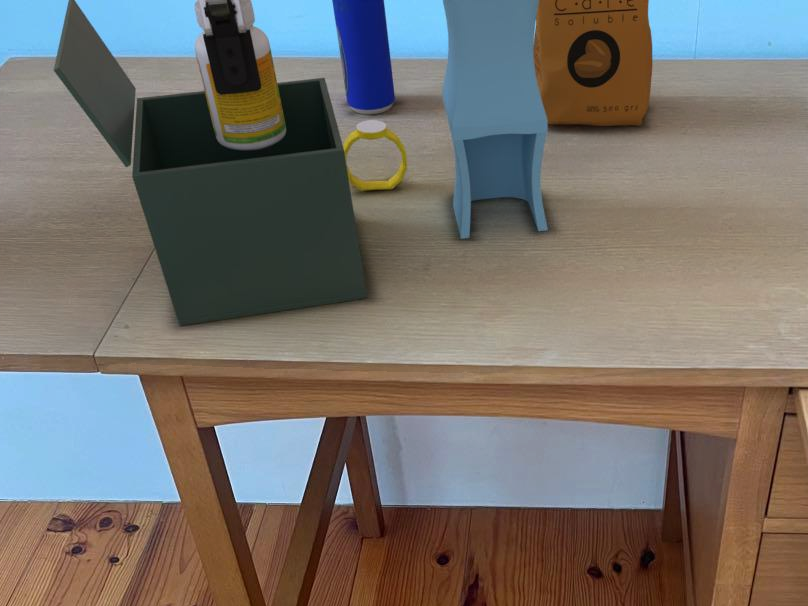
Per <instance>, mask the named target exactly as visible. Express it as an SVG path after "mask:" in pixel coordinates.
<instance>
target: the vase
mask: <svg viewBox="0 0 808 606" xmlns="http://www.w3.org/2000/svg"><path fill="white" fill-rule="evenodd" d="M538 3H539V0H442V5H443V9H444V14H445V20H446V28H447V44H448V47H447V48H448V50H447V59H446V60H447V62H446V68H445V73H444V80H443V84H442V89H441V91H442V102H443V107H444V110H445V113H446V117H447V121H448V125H449V130H450V134H451V135H450V136H451V140H452V145H453V153H454V154H453V155H454V160H455V161H454V165H455V168H454V169H455V171H454V172H455V175H454V176H455V177H454V191H453V200H452V207H453V213H454V216H455V217H454V218H455V221H456V225H457V229H458V234H459V238H460V240H462V239H469V238H470V237H471V236H470V234H471V215H472V214H471V213H472V211H471V210H472V209H471V208H472V205H471V204H472V203H471V202H474V201H479V200H487V199H499V198H515V199H520V200H524V201H526V202H527V203H528V205H529V209H530V211H531V214H532V217H533V220H534V223H535V226H536V229H537V232H546V231H549V228H548V224H547V218H546V214H545V209H544V204H543V195H542V183H541V180H542V179H541V177H542V166H543V165H542V163H543V157H544V150H545V145H546V141H547V136H548V129H549V127H548V126H549V124H547V116H546V113H545V110H544V106H543V103H542V100H541V96H540V92H539V88H538V84H537V78H536V73H535V65H534V55H533V48H534V36H535V29H536V15H537V9H538Z"/></svg>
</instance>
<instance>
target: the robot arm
mask: <svg viewBox="0 0 808 606" xmlns="http://www.w3.org/2000/svg"><path fill="white" fill-rule="evenodd" d="M197 1H198V2H199V7H200V12H201V16H202V21H203V25H204V30H205V34H203V38H204V42H205V47H206V51H207V55H208V59H209V63H210V68H211V72H212V76H213V80H214V85H215V89H216V92H217V93H218V94H220V95H225V94H235V93H244V92H253V91H259V90H260V89H261V81H260V76H259V71H258V67H257V62H256V57H255V52H254V47H253V42H252V37H251V32H250V29H249V30H246V27H245V22H244V17H243V12H242V7H241V2H240V0H232V2H233V4H232V2H231V0H197ZM235 17H236V18H235Z"/></svg>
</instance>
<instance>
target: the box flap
mask: <svg viewBox="0 0 808 606" xmlns="http://www.w3.org/2000/svg"><path fill="white" fill-rule="evenodd" d="M53 72H54V73H55V74H56V75H57V77H58V79H59V80H60V81H61V82H62V84H63V85H64V86H65V88H66V89H67V90H68V91H69V93H70V95H71V96H72V97H73V99H74V100H75V101H76V103H77V104H78V105H79V107H80V108H81V109H82V111H83V112H84V114H86V116H87V117H88V118H89V120H90V122H92V124H93V125H94V127H95V128H96V129H97V131H98V132H99V133H100V135H101V136H102V138H103V139H104V140H105V141H106V143H107V144H108V145H109V147H110V148H111V150H112V151H113V152H114V154H115V155H116V156H117V157H118V159H119V160H120V161H121V163H122V164H123V166H124V167H125V168H128V167H130V166H131V165H132V153H133V152H132V150H133V136H134V122H135V109H136V108H135V106H136V105H135V104H136V90H137V88H136V87H135V85H134V84H133V82H132V81H131V80H130V78H129V77H128V75H127V73H126V72H125V71H124V70H123V68H122V67H121V65H120V63H119V62H118V60H117V59H116V58H115V56H114V55H113V53H112V51H110V49H109V48H108V46H107V45H106V43H105V41H103V39H102V38H101V36H100V35H99V33H98V32H97V30H96V29H95V27H94V26H93V24H92V23H91V21H89V19H88V17H87V16H86V14H85V13H84V11H83V10H82V9H81V7H80V5H79V4H78V3H77V1H76V0H68V2H67V7H66V11H65V16H64V20H63V24H62V29H61V34H60V39H59V44H58V48H57V52H56V57H55V62H54V66H53Z"/></svg>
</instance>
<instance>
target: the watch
mask: <svg viewBox="0 0 808 606" xmlns="http://www.w3.org/2000/svg"><path fill="white" fill-rule="evenodd" d="M382 138H386V139H388V140H390V141H391V142H393V143H394V144H395V145H396V147H397V148H398V150H399V151H400V155H401V162H400V165H399V168H398V170H397V173H395V174H394V175H392V177H390V179H388V180H365V181H364V180H363V181H362V180H361V179H359V178H358V177H356V176H355V175H354V174H352V172H351V170H350V168H349V166H348V164H347V163H346V166H347V172H348V179H349V184H351V185H352V186H354V187H355V188H356V189H358V190H359V191H361V192H364V191H374V190H375V191H376V190H393V189H394V188H395V187H396V186H398V185H399V184H400V183H401V182H402V180H403V179H404V177H405V174H406V172H407V169H408V160H407V159H408V158H407V152H406V148H405V145H404V143H403V142H402V141H401V139H400V138H399V136H398V134H396V133H395V132H394V131H392V130H390V129H389V128H388V125H387V124H386V122H383V121H381V120H376V119H367V120H363V121H360V122H358V123H357V124H356V126H355V130H354V131H352V132H351V133H349V135H347V137H346V139H345V141H344V142H343V143H342V145H343V148H344V153H345V160H346V161H347V154H348V153H349V151H350V149H351V147H352V146H353V144H354V143H355V142H357V141H358V140H360V139H363V140H368V141H369V140H370V141H371V140H372V141H373V140H379V139H382Z"/></svg>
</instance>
